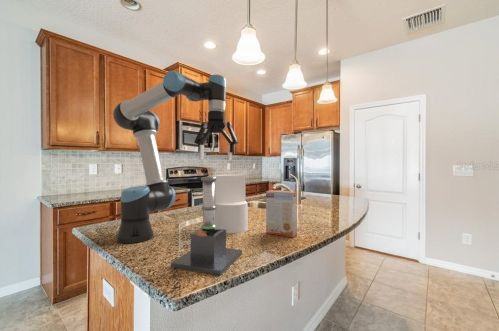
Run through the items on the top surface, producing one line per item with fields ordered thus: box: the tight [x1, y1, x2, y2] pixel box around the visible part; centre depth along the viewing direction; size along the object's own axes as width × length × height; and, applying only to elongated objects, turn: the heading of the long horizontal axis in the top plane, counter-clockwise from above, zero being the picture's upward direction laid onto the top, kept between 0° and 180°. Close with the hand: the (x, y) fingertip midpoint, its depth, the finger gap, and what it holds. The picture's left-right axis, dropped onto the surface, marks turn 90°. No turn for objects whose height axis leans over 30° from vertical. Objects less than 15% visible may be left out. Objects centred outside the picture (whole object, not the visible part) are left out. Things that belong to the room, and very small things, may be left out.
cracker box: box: [265, 189, 298, 238], centre depth 113 cm, size 14×6×21 cm, turn 58°
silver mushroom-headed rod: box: [200, 176, 216, 235], centre depth 82 cm, size 5×5×22 cm
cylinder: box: [214, 174, 249, 235], centre depth 122 cm, size 17×17×28 cm
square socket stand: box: [170, 228, 243, 276], centre depth 82 cm, size 18×18×11 cm
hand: (215, 160), depth 103 cm, fingers open, 13 cm apart
